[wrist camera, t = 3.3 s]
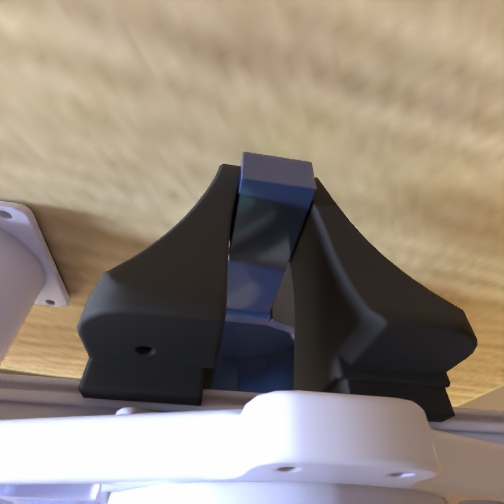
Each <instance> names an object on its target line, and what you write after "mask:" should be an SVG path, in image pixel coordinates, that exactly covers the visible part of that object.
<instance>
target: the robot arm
mask: <svg viewBox="0 0 504 504" xmlns="http://www.w3.org/2000/svg"><path fill="white" fill-rule="evenodd" d="M239 173H240V166H235V165H228V164H222V165H220V166H219V169H218V172H217V174H216V176H215V178H214V179H213V181H212V183H211V184H210V186H209V187H208V189H207V190H206V192H205V193H204V194H203V196H202V197H201V198H200V200H199V201H198V202H197V203H196V204H195V206H194V207H193V208H192V209H191V210H190V212H189V213H188V214H187V215H186V216H185V217H184V218H183V219H182V220H181V221H180V222H179V223H178V224H177V225H176V226H175V227H173V228H172V229H171V230H170V231H169V232H167V233H166V234H165V235H164V236H163V237H161V238H160V239H159V240H158V241H156V242H155V243H153V244H152V245H150V246H149V247H148V248H146V249H145V250H143V251H142V252H140V253H139V254H137V255H136V256H134V257H132V258H131V259H129V260H127V261H125V262H123V263H122V264H120V265H118V266H116V267H114V268H113V269H111V270H109V271H106V272H105V273H104V274H103V276H102V277H101V279H100V280H99V282H98V283H97V285H96V286H95V288H94V290H93V291H92V293H91V295H90V297H89V298H88V300H87V303H86V305H85V308H84V310H83V313H82V315H81V318H80V320H79V323H78V325H77V329H78V334H79V336H80V338H81V340H82V343H83V345H84V347H85V349H86V351H87V353H88V356H89V360H88V362H87V365H86V368H85V370H84V373H83V376H82V379H81V380H78V379H64V378H51V377H37V376H24V375H10V374H0V504H504V411H496V410H482V409H469V408H455V407H452V405H451V403H450V400H449V397H448V395H447V392H446V389H445V387H449V386H450V381H449V378H448V376H447V373H446V372H447V371H448V370H450V369H451V368H453V367H454V366H456V365H457V364H459V363H460V362H462V361H463V360H465V359H466V358H467V357H469V356H470V355H471V354H472V353H473V352H474V350H475V348H476V346H477V338H476V336H475V334H474V331H473V329H472V327H471V325H470V323H469V321H468V319H467V317H466V315H465V313H464V311H463V310H462V309H460V308H458V307H457V306H455V305H453V304H451V303H450V302H448V301H446V300H445V299H443V298H441V297H440V296H438V295H436V294H435V293H433V292H431V291H430V290H428V289H427V288H425V287H424V286H422V285H421V284H420V283H418V282H417V281H415V280H414V279H412V278H411V277H410V276H408V275H407V274H405V273H404V272H403V271H401V270H400V269H399V268H398V267H397V266H395V265H394V264H393V263H392V262H390V261H389V260H388V259H387V258H386V257H384V256H383V255H382V254H381V253H380V252H379V251H378V250H377V249H376V248H375V247H374V246H373V245H371V244H370V243H369V242H368V241H367V240H366V239H365V238H364V237H363V236H362V234H361V233H360V232H359V231H358V230H357V229H356V228H355V227H354V225H353V224H352V223H351V222H350V221H349V220H348V218H347V217H346V216H345V215H344V213H343V212H342V211H341V210H340V208H339V207H338V206H337V204H336V203H335V202H334V200H333V199H332V197H331V196H330V195H329V193H328V192H327V190H326V189H325V188H324V186H323V185H322V183H321V182H320V181H319V179H318V178H315V177H314V178H315V183H316V188H317V189H316V192H315V194H314V197H313V200H312V202H311V205H310V208H309V210H308V213H307V216H306V218H305V221H304V223H303V226H302V229H301V231H300V234H299V237H298V239H297V242H296V245H295V247H294V250H293V253H292V255H291V258H290V268H291V276H292V283H293V292H294V316H295V351H294V386H293V391H274V392H269V393H253V392H240V391H226V390H213V389H211V387H212V382H213V377H214V372H215V369H216V365H217V359H218V354H219V349H220V344H221V339H222V334H223V329H224V324H225V318H226V305H227V277H228V253H229V240H230V234H231V228H232V222H233V216H234V209H235V203H236V197H237V191H238V185H239ZM69 302H70V298H69V295H68V293H67V291H66V289H65V286H64V284H63V282H62V279H61V277H60V275H59V272H58V270H57V268H56V265H55V263H54V261H53V258H52V256H51V254H50V252H49V249H48V247H47V245H46V242H45V240H44V238H43V235H42V233H41V231H40V228H39V226H38V224H37V221H36V219H35V217H34V215H33V213H32V211H31V210H30V209H29V208H28V207H27V206H25V205H23V204H19V203H13V202H5V201H0V365H1V363H2V361H3V359H4V357H5V356H6V354H7V352H8V350H9V348H10V346H11V345H12V343H13V341H14V339H15V337H16V336H17V334H18V332H19V330H20V328H21V326H22V325H23V323H24V321H25V319H26V317H27V315H28V314H29V312H30V310H31V308H32V306H33V304H34V305H44V306H54V307H66V306H68V304H69Z"/></svg>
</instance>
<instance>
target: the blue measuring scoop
mask: <svg viewBox="0 0 504 504" xmlns="http://www.w3.org/2000/svg"><path fill="white" fill-rule="evenodd" d="M316 189H317V188H316V183H315V178H314V173H313V167H312V163H311V162H307V161H301V160H294V159H288V158H281V157H275V156H268V155H262V154H255V153H249V152H243V154H242V160H241V166H240V173H239V185H238V191H237V197H236V203H235V209H234V216H233V222H232V228H231V234H230V240H229V253H228V277H227V305H226V318H225V324H224V329H223V334H222V339H221V344H220V349H219V354H218V359H217V365H216V369H215V372H214V377H213V382H212V387H211V389H213V390H226V391H240V392H253V393H269V392H274V391H293V386H294V351H295V316H294V292H293V283H292V276H291V268H290V258H291V255H292V253H293V250H294V247H295V245H296V242H297V239H298V237H299V234H300V231H301V229H302V226H303V223H304V221H305V218H306V216H307V213H308V210H309V208H310V205H311V202H312V200H313V197H314V194H315V192H316Z"/></svg>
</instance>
